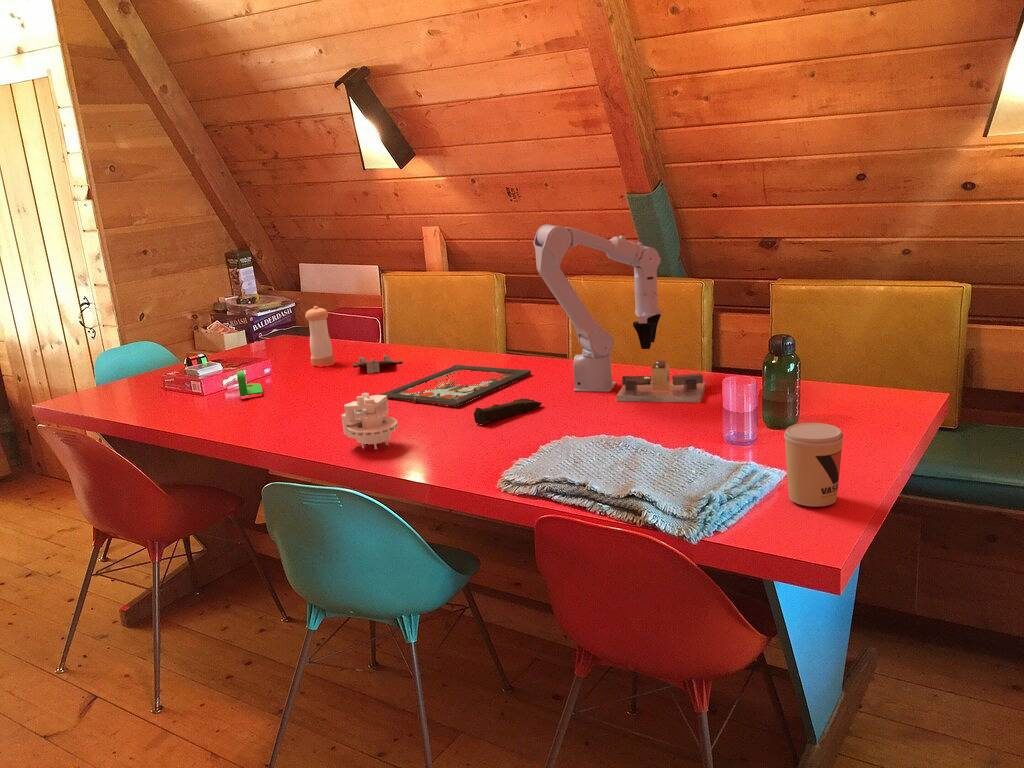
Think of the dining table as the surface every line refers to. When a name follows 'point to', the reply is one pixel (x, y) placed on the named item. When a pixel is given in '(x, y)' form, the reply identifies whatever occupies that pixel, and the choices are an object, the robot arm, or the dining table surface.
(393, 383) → the dining table surface
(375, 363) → the metal bracket
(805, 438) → the coffee cup
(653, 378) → the tan block with knob
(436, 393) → the painting
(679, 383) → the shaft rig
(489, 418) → the hand tool
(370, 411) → the mechanical part
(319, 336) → the salt shaker
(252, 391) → the mechanical part
